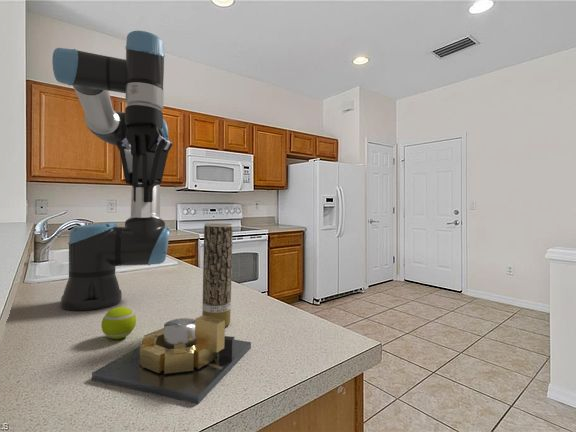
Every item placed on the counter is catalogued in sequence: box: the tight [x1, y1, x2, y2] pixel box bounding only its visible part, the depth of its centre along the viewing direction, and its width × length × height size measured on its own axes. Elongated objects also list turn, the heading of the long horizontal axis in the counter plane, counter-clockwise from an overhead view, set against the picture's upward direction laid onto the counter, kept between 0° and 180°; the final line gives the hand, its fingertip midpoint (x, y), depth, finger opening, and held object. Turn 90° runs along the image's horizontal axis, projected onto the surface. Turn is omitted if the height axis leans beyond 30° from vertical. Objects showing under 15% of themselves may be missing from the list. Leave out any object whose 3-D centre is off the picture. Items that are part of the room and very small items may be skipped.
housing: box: [91, 317, 252, 405], centre depth 60 cm, size 20×20×7 cm
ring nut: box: [139, 315, 226, 374], centre depth 59 cm, size 16×13×8 cm
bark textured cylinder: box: [201, 222, 234, 328], centre depth 78 cm, size 7×7×25 cm
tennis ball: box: [101, 306, 137, 340], centre depth 70 cm, size 7×7×7 cm
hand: (142, 217), depth 70 cm, fingers closed
